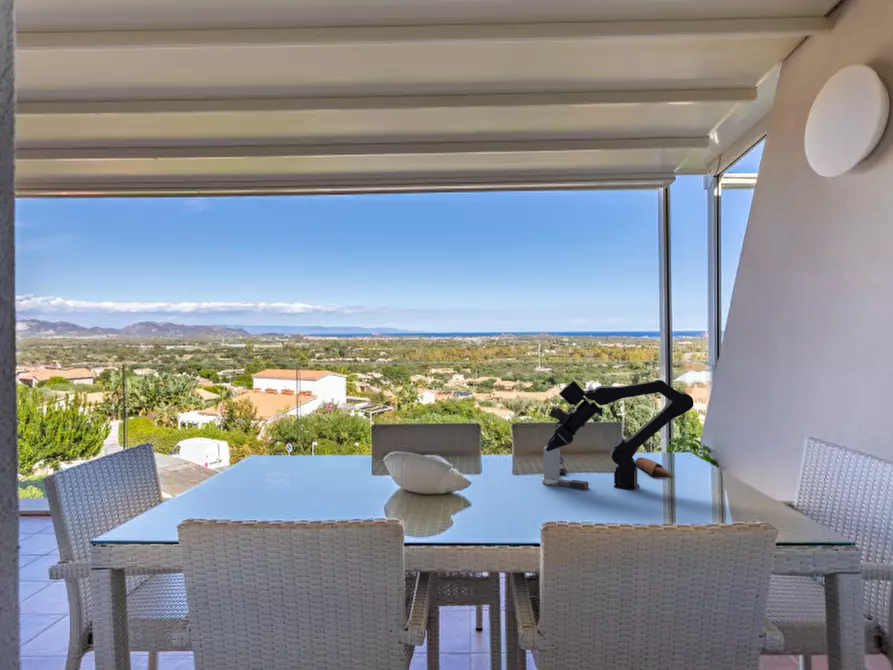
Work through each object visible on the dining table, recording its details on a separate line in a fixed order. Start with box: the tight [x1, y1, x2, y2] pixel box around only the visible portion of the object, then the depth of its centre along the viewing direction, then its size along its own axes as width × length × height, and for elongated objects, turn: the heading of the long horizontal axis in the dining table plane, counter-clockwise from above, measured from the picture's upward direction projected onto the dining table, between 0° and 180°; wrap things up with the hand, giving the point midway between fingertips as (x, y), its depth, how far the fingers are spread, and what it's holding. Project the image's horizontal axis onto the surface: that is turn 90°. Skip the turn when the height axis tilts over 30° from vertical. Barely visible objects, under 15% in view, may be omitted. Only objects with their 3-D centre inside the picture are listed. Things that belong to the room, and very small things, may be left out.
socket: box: [543, 445, 561, 480], centre depth 202 cm, size 5×5×10 cm
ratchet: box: [541, 475, 589, 491], centre depth 199 cm, size 16×6×4 cm, turn 53°
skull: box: [559, 454, 567, 474], centre depth 219 cm, size 12×8×6 cm, turn 1°
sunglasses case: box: [635, 457, 674, 478], centre depth 217 cm, size 18×7×7 cm
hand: (547, 447), depth 202 cm, fingers open, 9 cm apart
